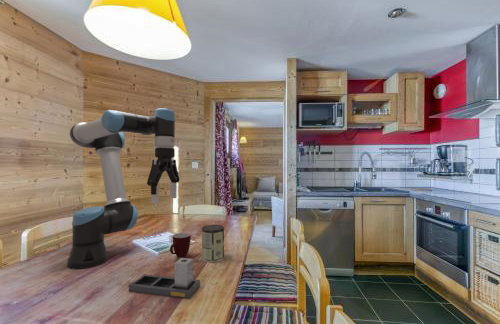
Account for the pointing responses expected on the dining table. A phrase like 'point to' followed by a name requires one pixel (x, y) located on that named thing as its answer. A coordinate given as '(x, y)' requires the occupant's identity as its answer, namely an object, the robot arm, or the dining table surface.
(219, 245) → the coffee can
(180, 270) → the grey block with knob
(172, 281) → the grey compartment tray
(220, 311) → the dining table surface
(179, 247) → the mug
